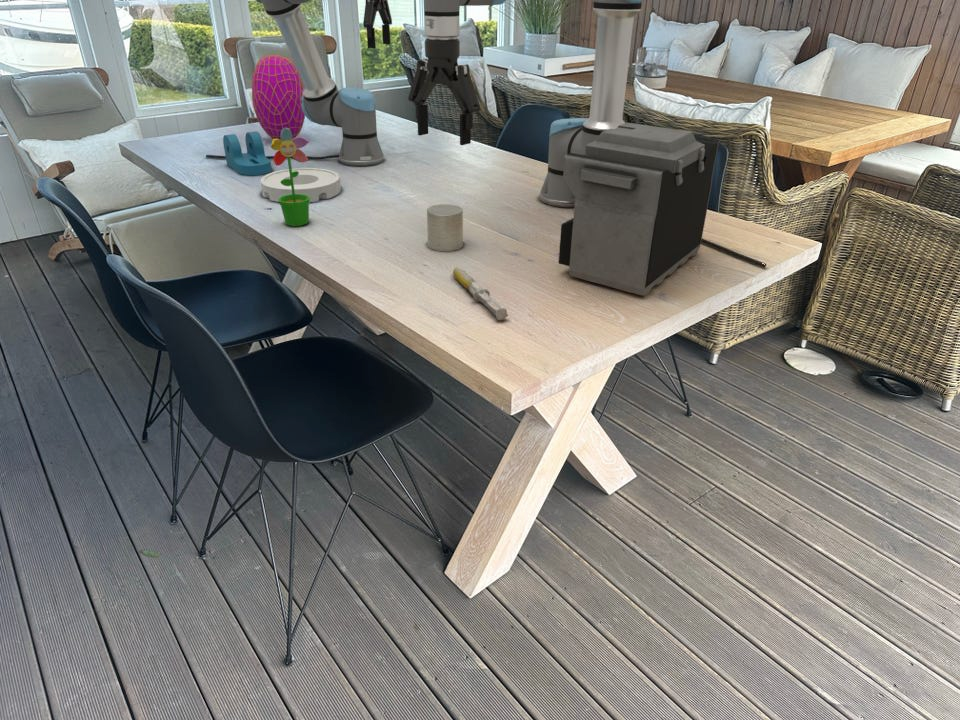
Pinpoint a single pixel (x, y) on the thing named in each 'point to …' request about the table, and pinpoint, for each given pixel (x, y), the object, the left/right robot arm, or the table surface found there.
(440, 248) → the can
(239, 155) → the camera mount
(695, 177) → the grey cooler box
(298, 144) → the potted flower
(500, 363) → the table surface
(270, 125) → the decorative egg
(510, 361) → the table surface
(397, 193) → the table surface
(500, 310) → the syringe
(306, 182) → the white notched ring base
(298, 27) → the left robot arm
